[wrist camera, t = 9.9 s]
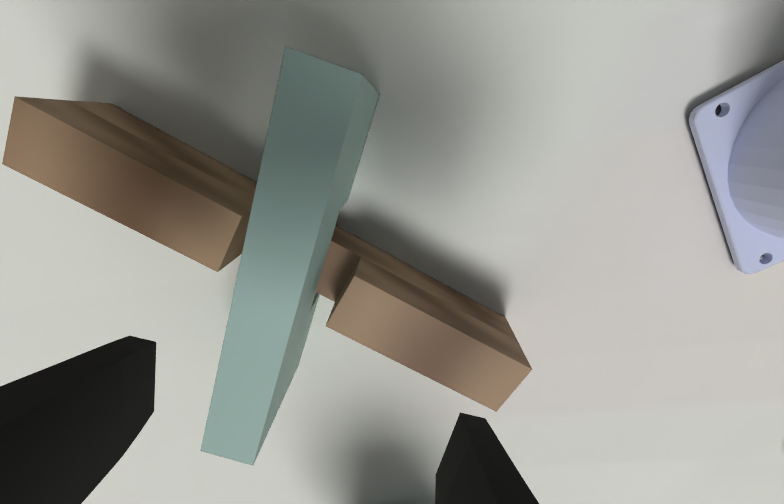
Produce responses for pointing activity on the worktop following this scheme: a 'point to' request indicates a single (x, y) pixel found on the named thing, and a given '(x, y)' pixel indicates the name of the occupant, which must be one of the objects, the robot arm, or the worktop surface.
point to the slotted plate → (286, 245)
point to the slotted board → (228, 231)
